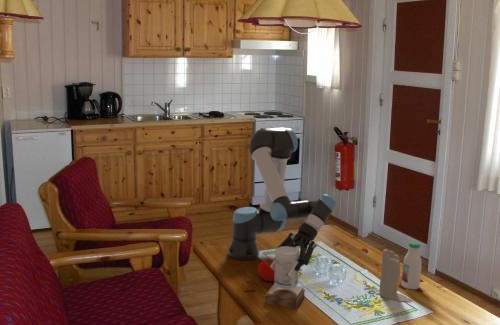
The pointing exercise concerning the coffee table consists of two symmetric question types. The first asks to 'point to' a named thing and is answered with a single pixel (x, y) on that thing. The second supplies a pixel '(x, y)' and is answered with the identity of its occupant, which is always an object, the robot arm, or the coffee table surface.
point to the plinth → (285, 296)
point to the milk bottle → (412, 267)
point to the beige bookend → (391, 277)
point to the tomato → (266, 270)
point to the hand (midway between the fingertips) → (280, 272)
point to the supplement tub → (285, 266)
